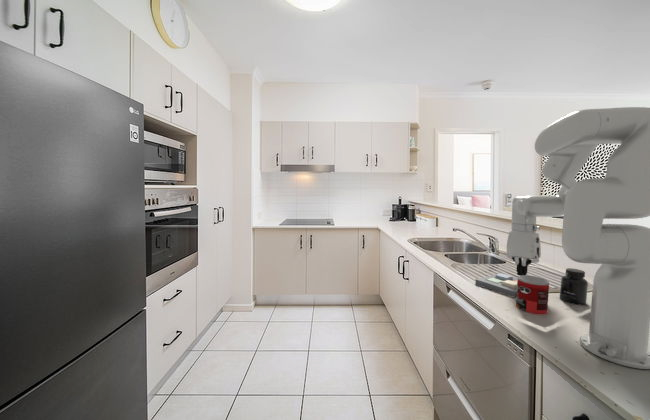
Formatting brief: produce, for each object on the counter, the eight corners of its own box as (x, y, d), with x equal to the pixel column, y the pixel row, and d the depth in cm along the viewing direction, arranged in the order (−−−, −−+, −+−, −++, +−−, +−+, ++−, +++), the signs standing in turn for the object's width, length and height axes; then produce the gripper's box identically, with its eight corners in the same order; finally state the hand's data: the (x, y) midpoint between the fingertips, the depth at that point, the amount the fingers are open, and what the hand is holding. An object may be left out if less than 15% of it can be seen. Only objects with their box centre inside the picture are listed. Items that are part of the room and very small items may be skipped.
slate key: (506, 282, 106) (506, 277, 106) (495, 279, 110) (495, 274, 109) (512, 281, 108) (512, 276, 107) (501, 277, 111) (501, 273, 111)
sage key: (496, 287, 103) (497, 282, 103) (486, 284, 107) (486, 279, 107) (503, 285, 105) (503, 281, 105) (492, 282, 109) (492, 277, 109)
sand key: (513, 290, 98) (513, 285, 98) (501, 286, 102) (501, 281, 101) (520, 288, 100) (520, 283, 99) (508, 284, 103) (508, 279, 103)
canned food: (514, 304, 91) (516, 273, 90) (543, 309, 87) (546, 277, 86) (517, 313, 84) (519, 280, 83) (549, 319, 80) (552, 285, 79)
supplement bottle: (562, 305, 90) (565, 271, 89) (556, 298, 96) (558, 266, 95) (589, 309, 87) (592, 274, 86) (581, 301, 93) (584, 268, 92)
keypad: (514, 300, 94) (515, 292, 94) (475, 286, 108) (475, 279, 108) (540, 292, 102) (540, 284, 102) (500, 280, 115) (500, 273, 115)
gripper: (551, 230, 96) (549, 279, 97) (508, 226, 110) (507, 269, 110) (540, 231, 93) (539, 281, 94) (497, 226, 106) (496, 271, 107)
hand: (521, 275), depth 102 cm, fingers closed
